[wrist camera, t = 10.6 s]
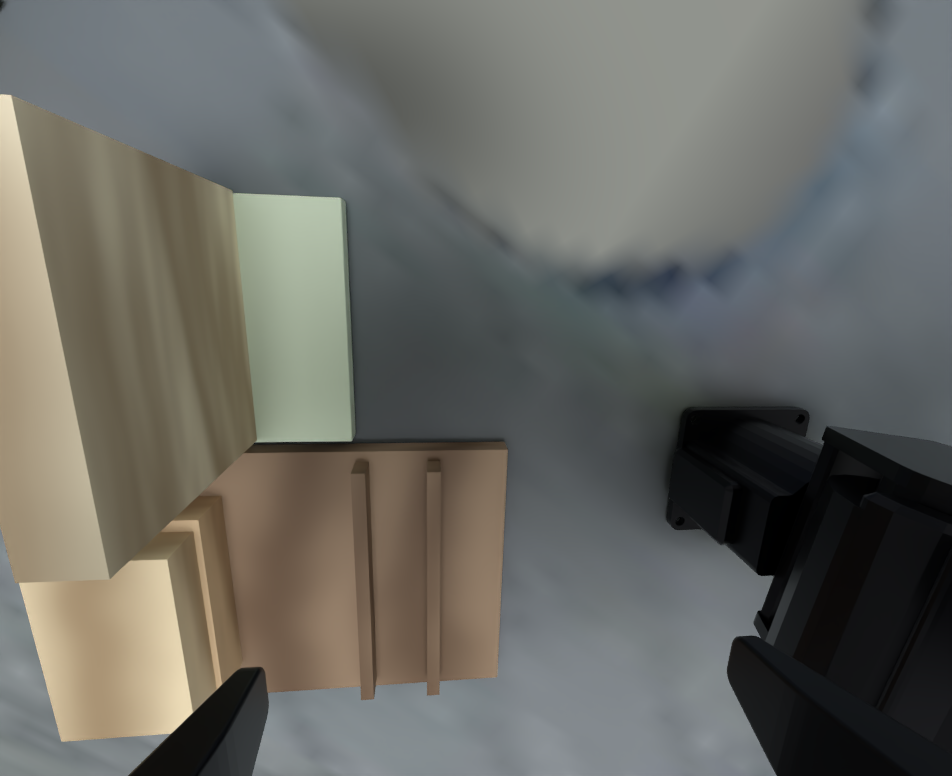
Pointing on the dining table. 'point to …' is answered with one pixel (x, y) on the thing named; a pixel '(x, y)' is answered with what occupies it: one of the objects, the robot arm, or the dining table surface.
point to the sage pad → (297, 315)
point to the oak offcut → (214, 580)
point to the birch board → (110, 345)
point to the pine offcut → (125, 644)
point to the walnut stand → (366, 561)
